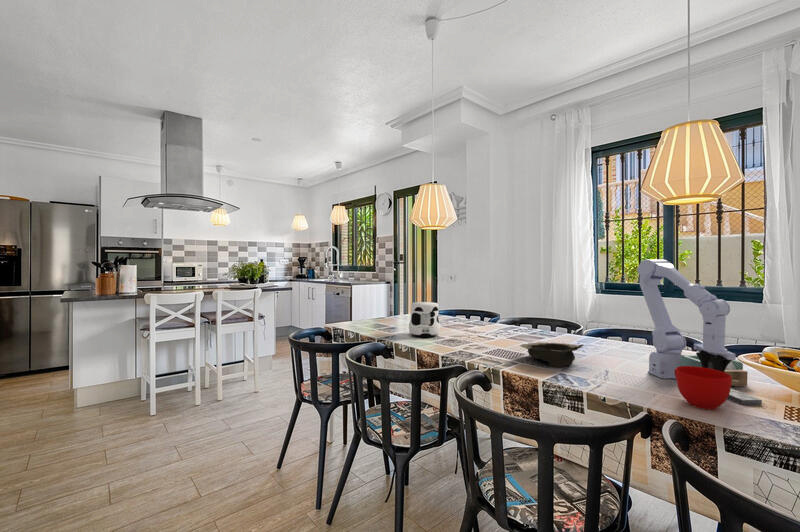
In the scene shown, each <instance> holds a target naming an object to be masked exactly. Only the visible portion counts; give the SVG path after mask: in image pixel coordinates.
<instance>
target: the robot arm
mask: <svg viewBox="0 0 800 532" xmlns="http://www.w3.org/2000/svg"><path fill="white" fill-rule="evenodd" d="M636 269H637V273H638V275H639V286H640V289H641V292H642V295H643V297H644V301H645V302H646V306H647V308H648V312H649V315H650V317H651V319H652V322H653V324H654V330H653V331H651V335H652V344H653V347H654V348H655V350H656V351H653V352H650V354H649V357H648V370H647V373H649V374H651V375H654V376H656V377H658V378H660V379H676V377H675V369H676V368H677V367H680V366H681V355H682V353H683V350H684V349H685V348H686V346H687V340H686V337H684V336H683V334H682V333H681V331H680V329H679V328H678V327H676V326H675V325H674V324H673V323H672V320H671V318H670V315H669V312H668V310H667V307H666V305H665V302H664V300H663V297H662V295H661V294H662V293H661V291H660V290H659V286H658V285H659V283H660V282H661V281H662V280H664V278H666V279H667V280H669V281H670V282H672V283H673V284H674V285H676V286H677V287H678V288H680V289H681V290H683V296H684V297H686V299H688V300H689V301H690V302H691V303H693V304H694V305H695V306H696V307H698V311H699V314H701V316H702V320H703V323H702V343H694V344H693V349H694V350H696V351H697V352H695V353H696V354H695V355H697V356H698V358H699V360H700V362H701V364H702V367H703V368H708V361H712V364H713V369H714V370H718V371H722V372H724V371H725V369H726V367H727V366H728V364H729V363H730V362H731V361H732V360H736V353H733V352H731V351H729V350H728V348H726V317H727V316H728V315H729V313H730V312H731V308H730V307H731V306H730V305H729V303H728V302H727V301H726V300H725V299H719V298H717V296H716V295H715V294H712V293H710V291H708V290H707V289H705V288H706V287H705V286H704V285H702V284H699V283H692V282H691V281H690V280H688V279H687V277H685V276H684V275H683V274H682V273H681V272H680V271H679V270H678V269H677V268H676V267H675V266H674V264H673V263H671V262H670V261H668V260H666V259H649V258H647V259H646V258H645V259H643V260H641V261H640V263H639V264H638V267H637V268H636ZM698 351H699V352H698Z"/></svg>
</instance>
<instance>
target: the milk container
mask: <svg viewBox="0 0 800 532" xmlns="http://www.w3.org/2000/svg"><path fill="white" fill-rule="evenodd" d="M408 330H409V331H408V332H409V333H410V334H411V335H412V336H414V337H420V338H424V337H425V338H431V337H435V336H438V335H439V333H440V331H441V325H440V321H439V303H437V302H431V301H416V302H415V301H414V302H411V303H410V319H409V324H408Z"/></svg>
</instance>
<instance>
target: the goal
mask: <svg viewBox="0 0 800 532" xmlns="http://www.w3.org/2000/svg"><path fill="white" fill-rule="evenodd" d="M741 362H742V361H740V360H732V363H733V365H734V367H735V369H736V370H744V363H743V364H742V363H741ZM681 366H695V367H702V364H701V362H700V360H699V358H698V356H697V355H696V354H681Z"/></svg>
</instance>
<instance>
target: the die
mask: <svg viewBox="0 0 800 532" xmlns="http://www.w3.org/2000/svg"><path fill="white" fill-rule="evenodd" d="M725 370H736V369H735V367H734V365H733V363H732V361H731V362H730V363H729V364H728V366H727V367H726V369H725Z"/></svg>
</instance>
